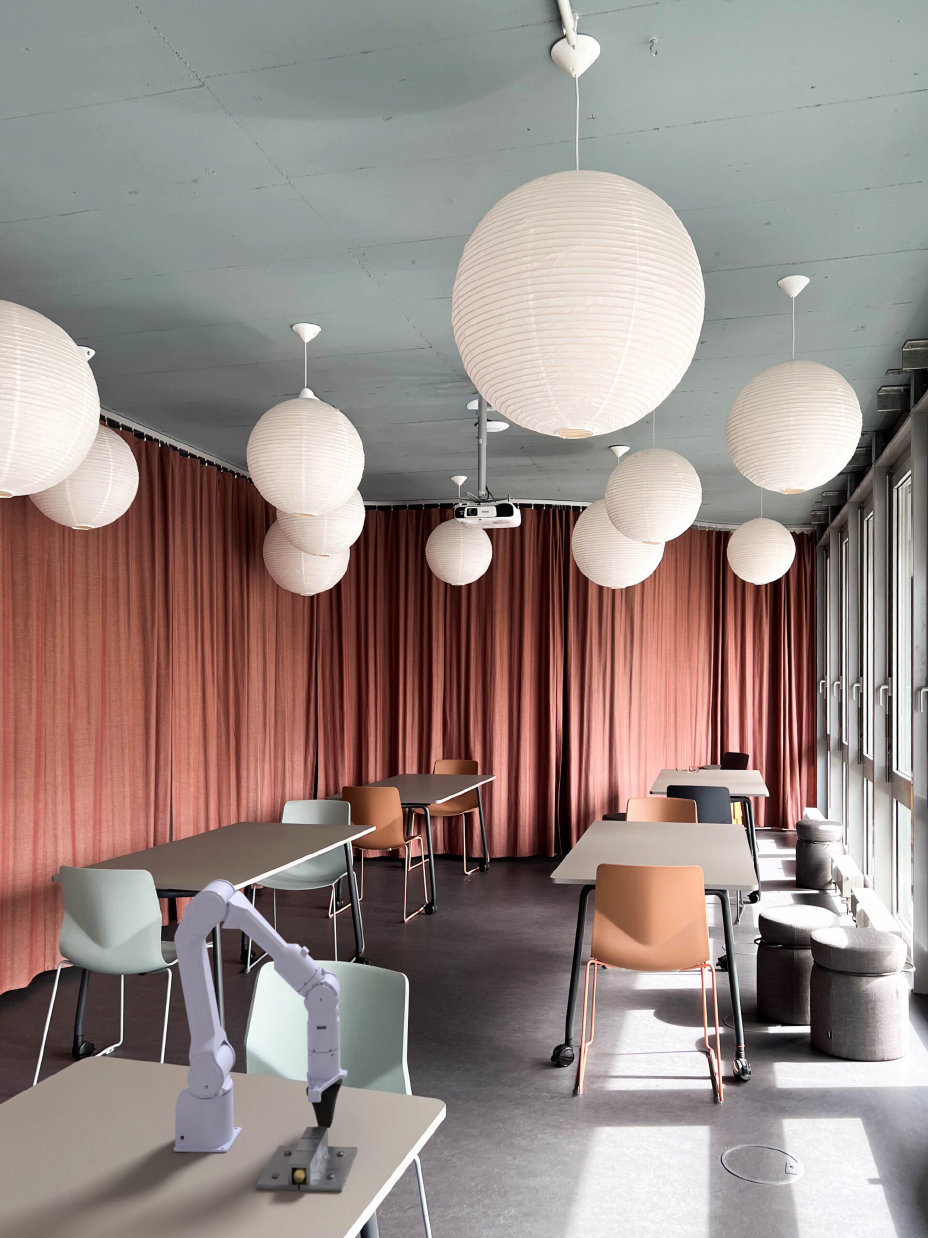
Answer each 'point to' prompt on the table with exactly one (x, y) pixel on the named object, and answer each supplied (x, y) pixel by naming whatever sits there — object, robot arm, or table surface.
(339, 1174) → the hinge
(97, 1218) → the table surface
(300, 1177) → the pin
